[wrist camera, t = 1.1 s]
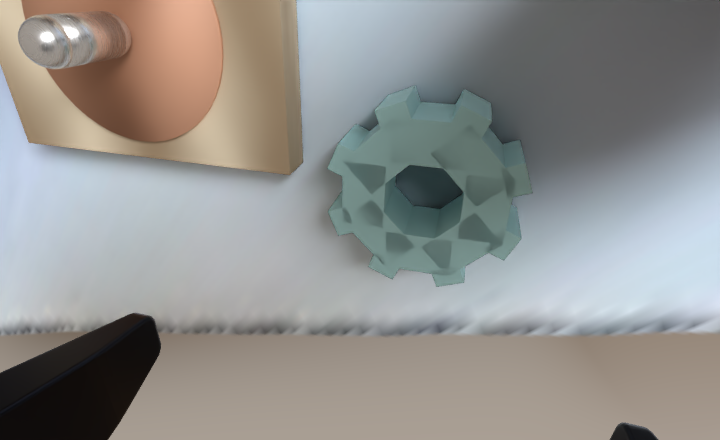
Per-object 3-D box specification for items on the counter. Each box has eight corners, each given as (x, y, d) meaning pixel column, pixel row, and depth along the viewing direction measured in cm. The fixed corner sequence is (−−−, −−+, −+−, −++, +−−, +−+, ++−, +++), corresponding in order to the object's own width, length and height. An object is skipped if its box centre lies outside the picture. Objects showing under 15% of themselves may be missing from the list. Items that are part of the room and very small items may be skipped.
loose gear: (541, 94, 15) (551, 112, 13) (504, 263, 19) (507, 298, 16) (346, 80, 17) (326, 94, 14) (345, 238, 20) (328, 268, 18)
